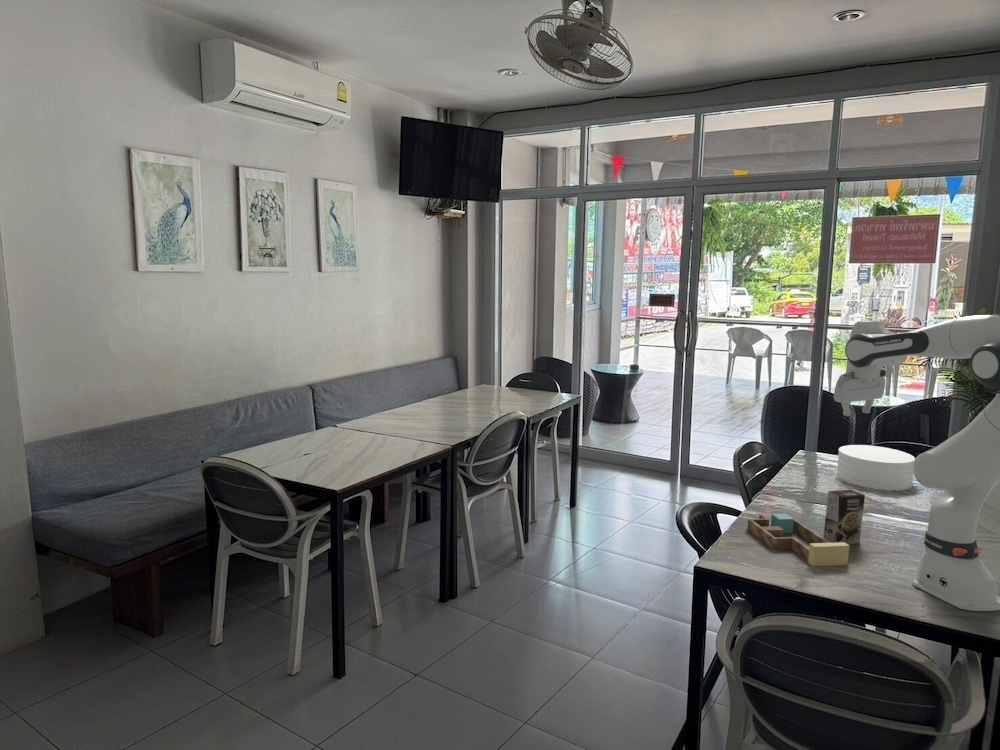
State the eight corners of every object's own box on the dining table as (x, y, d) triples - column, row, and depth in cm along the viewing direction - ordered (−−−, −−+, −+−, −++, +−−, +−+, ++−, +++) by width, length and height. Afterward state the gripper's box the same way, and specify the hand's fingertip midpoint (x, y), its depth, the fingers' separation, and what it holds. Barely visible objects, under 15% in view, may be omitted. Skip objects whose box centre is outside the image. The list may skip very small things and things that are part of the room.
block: (792, 533, 230) (793, 518, 229) (778, 533, 229) (779, 519, 228) (784, 527, 235) (785, 513, 234) (770, 528, 234) (771, 513, 233)
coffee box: (836, 546, 220) (841, 496, 217) (822, 538, 226) (827, 490, 223) (860, 543, 222) (866, 494, 220) (845, 535, 228) (850, 488, 226)
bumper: (847, 564, 206) (849, 545, 205) (812, 566, 204) (814, 546, 203) (842, 561, 208) (844, 542, 207) (807, 562, 207) (809, 543, 206)
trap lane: (840, 561, 208) (841, 550, 207) (790, 563, 206) (791, 552, 205) (786, 523, 238) (786, 513, 238) (741, 524, 236) (742, 514, 236)
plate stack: (821, 472, 300) (823, 446, 298) (872, 468, 308) (875, 443, 306) (873, 493, 273) (876, 465, 271) (928, 487, 282) (931, 460, 280)
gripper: (849, 375, 212) (844, 419, 214) (890, 371, 222) (885, 413, 224) (831, 371, 217) (826, 414, 220) (872, 367, 227) (867, 409, 229)
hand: (856, 414), depth 222 cm, fingers open, 8 cm apart
